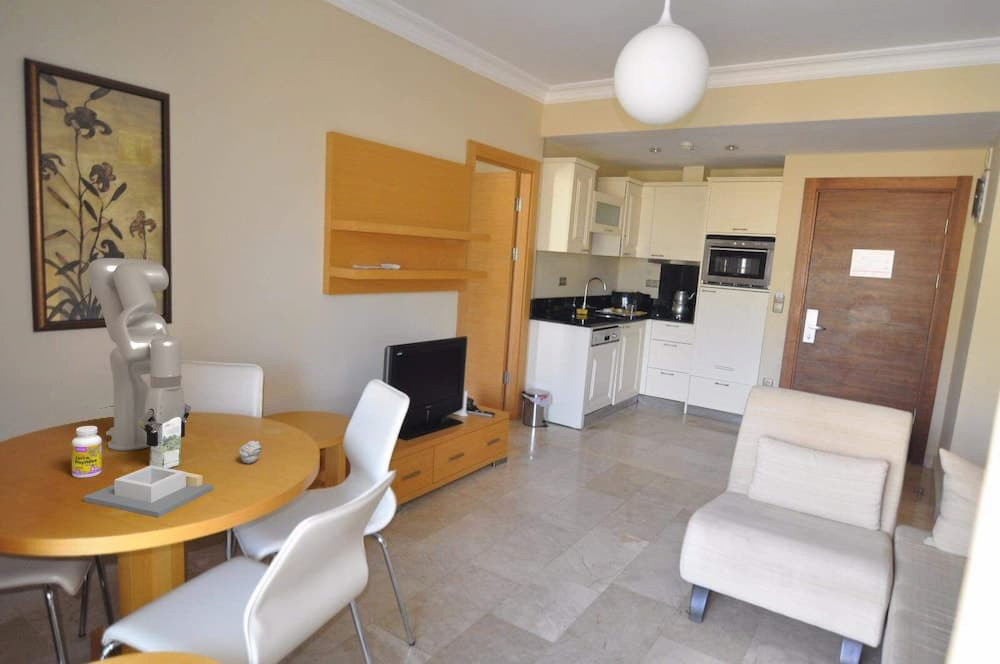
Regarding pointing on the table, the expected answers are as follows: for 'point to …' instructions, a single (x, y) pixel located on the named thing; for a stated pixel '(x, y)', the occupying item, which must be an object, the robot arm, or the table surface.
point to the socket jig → (151, 491)
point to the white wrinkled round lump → (250, 451)
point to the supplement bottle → (86, 452)
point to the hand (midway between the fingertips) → (166, 440)
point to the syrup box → (167, 445)
